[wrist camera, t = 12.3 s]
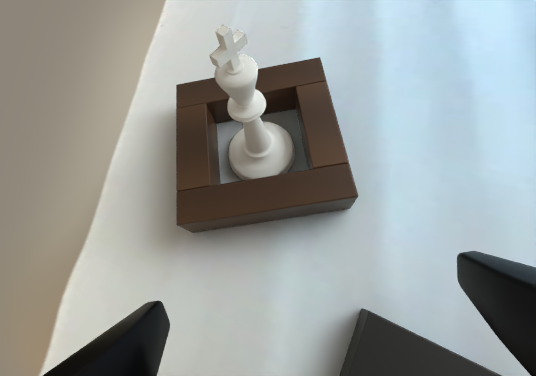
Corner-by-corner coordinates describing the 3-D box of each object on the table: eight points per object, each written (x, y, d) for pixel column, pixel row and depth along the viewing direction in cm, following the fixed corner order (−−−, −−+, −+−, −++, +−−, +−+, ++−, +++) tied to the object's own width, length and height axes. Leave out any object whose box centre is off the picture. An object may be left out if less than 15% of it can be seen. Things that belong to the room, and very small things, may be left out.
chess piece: (216, 159, 19) (137, 44, 10) (259, 115, 20) (223, -28, 11) (264, 198, 18) (222, 104, 9) (308, 148, 19) (314, 14, 9)
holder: (350, 208, 17) (358, 196, 15) (192, 233, 18) (176, 225, 15) (317, 82, 21) (320, 56, 18) (189, 106, 21) (176, 84, 19)
